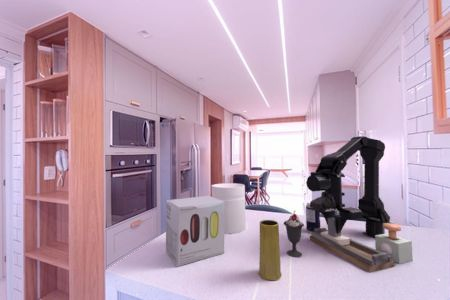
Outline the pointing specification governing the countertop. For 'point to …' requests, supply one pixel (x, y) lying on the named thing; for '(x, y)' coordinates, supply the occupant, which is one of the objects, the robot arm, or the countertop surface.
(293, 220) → the sundae
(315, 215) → the beverage can
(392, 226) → the button
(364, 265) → the rail
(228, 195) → the canister
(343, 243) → the carriage
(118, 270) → the countertop surface
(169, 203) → the supplement box
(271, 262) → the vase
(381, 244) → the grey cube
